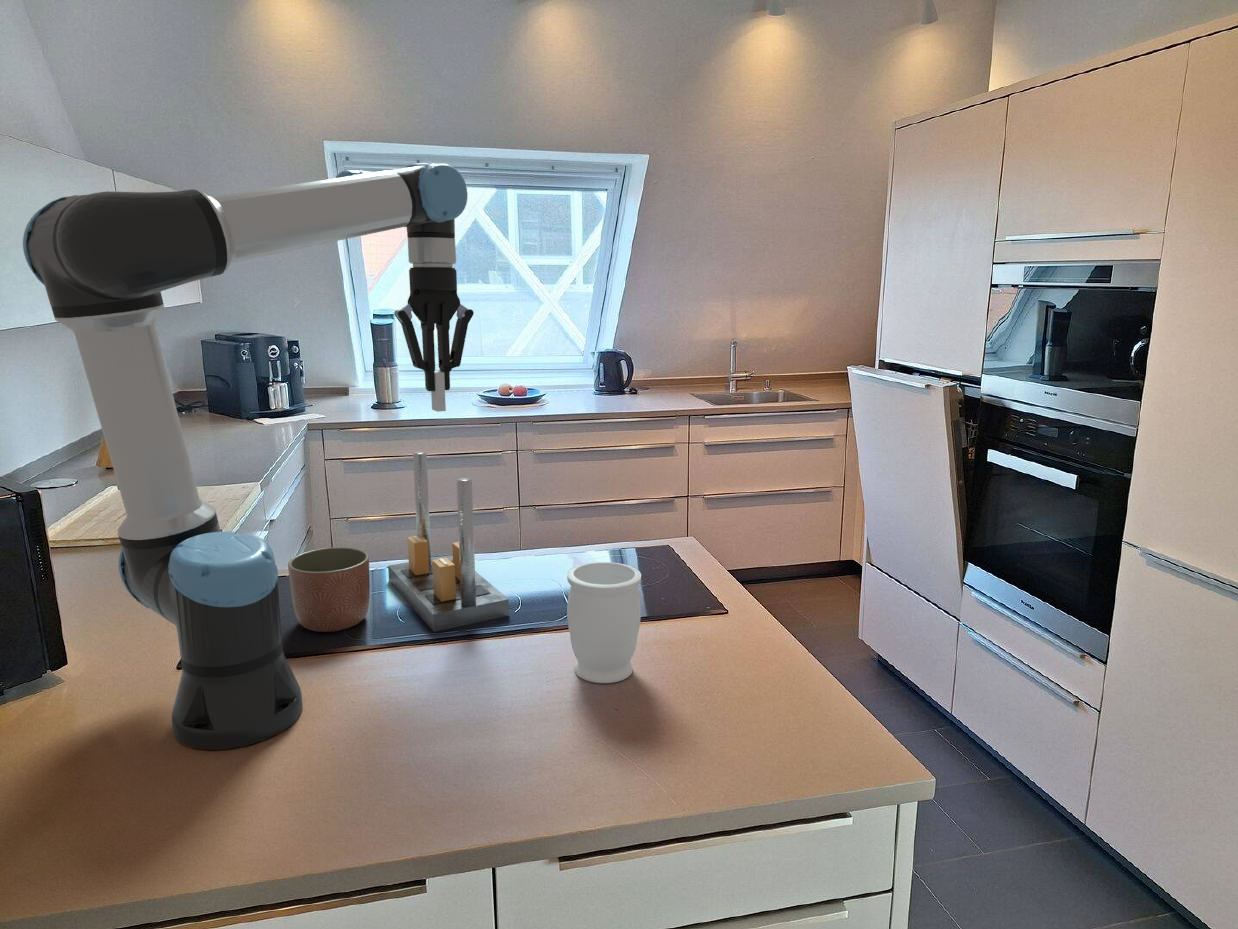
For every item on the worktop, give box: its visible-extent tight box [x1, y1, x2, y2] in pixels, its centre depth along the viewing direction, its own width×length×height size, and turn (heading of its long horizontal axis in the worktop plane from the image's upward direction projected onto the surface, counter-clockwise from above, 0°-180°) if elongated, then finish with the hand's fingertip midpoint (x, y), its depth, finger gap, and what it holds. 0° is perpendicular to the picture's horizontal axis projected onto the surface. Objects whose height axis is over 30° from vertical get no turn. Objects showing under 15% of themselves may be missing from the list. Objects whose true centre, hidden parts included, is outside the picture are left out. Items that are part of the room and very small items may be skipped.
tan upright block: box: [451, 541, 460, 580], centre depth 146 cm, size 4×2×6 cm, turn 31°
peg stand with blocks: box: [387, 451, 510, 633], centre depth 143 cm, size 26×13×24 cm, turn 31°
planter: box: [287, 546, 371, 633], centre depth 133 cm, size 12×12×11 cm
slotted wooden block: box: [432, 558, 456, 602], centre depth 137 cm, size 4×2×6 cm, turn 31°
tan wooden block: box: [407, 535, 429, 575], centre depth 148 cm, size 4×2×6 cm, turn 31°
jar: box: [566, 561, 642, 684], centre depth 117 cm, size 11×10×15 cm
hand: (438, 410), depth 138 cm, fingers closed
